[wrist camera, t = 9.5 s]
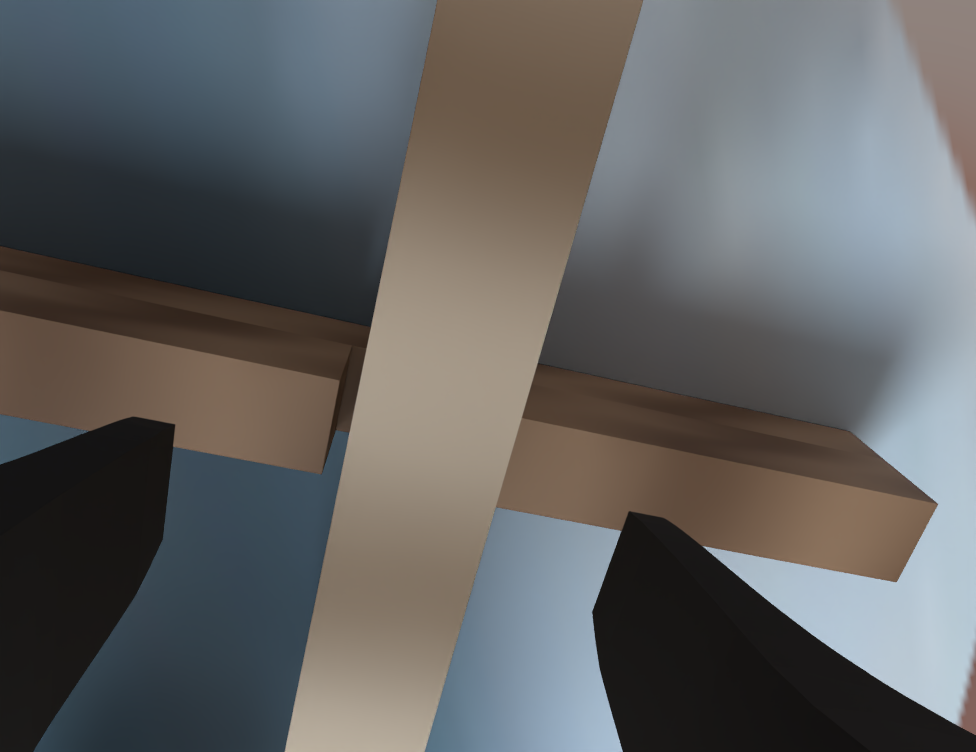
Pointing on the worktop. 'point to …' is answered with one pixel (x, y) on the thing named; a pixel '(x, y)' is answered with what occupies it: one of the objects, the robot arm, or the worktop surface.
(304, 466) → the walnut stand
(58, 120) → the worktop surface
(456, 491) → the cross piece
